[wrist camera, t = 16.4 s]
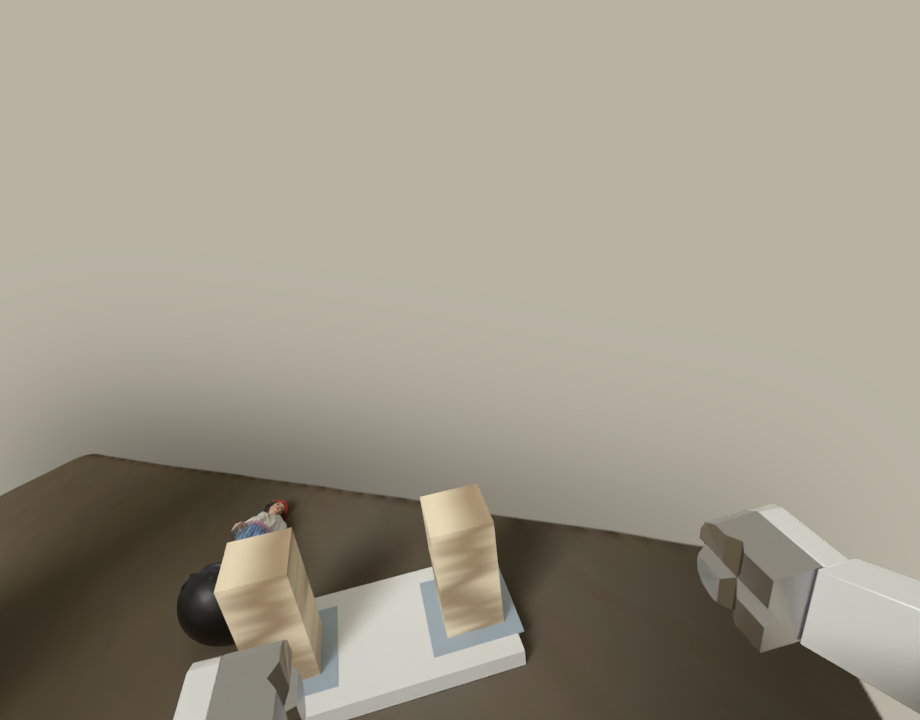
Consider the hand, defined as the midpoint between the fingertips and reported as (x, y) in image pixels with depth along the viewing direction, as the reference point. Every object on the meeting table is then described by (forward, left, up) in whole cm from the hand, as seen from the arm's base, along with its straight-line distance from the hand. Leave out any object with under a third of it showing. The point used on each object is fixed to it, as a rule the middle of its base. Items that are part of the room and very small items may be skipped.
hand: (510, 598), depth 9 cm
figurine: (-16, +34, -28) cm, 47 cm away
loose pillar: (+2, +22, -26) cm, 34 cm away
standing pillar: (-12, +22, -26) cm, 36 cm away
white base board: (-5, +22, -28) cm, 36 cm away
